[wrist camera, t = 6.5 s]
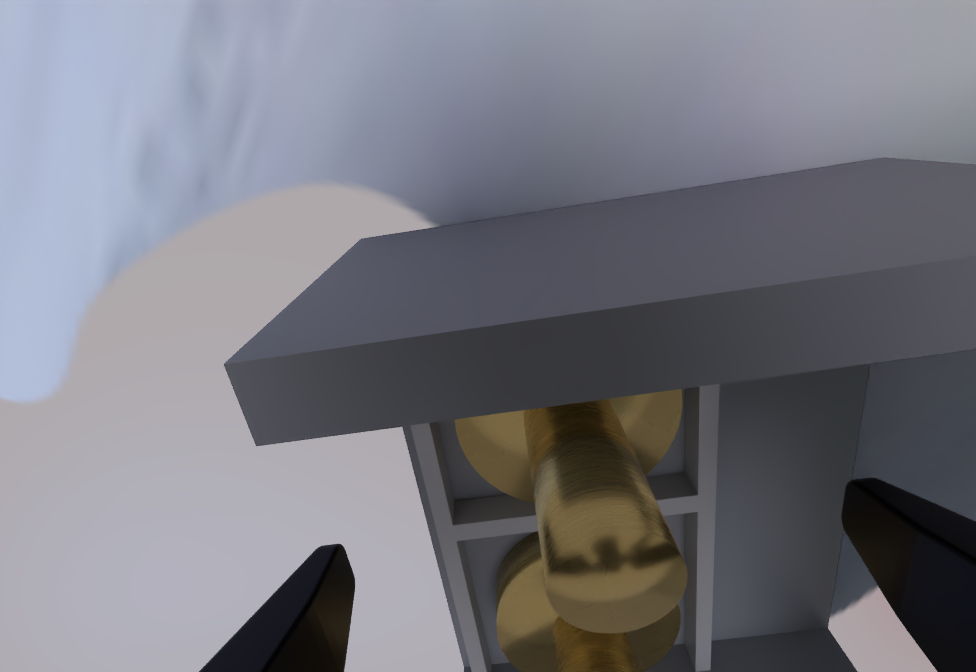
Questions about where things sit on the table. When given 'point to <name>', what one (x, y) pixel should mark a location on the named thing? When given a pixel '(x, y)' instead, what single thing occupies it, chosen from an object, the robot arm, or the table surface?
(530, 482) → the brass door knob
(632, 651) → the brass knob
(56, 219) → the table surface
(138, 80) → the table surface
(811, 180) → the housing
